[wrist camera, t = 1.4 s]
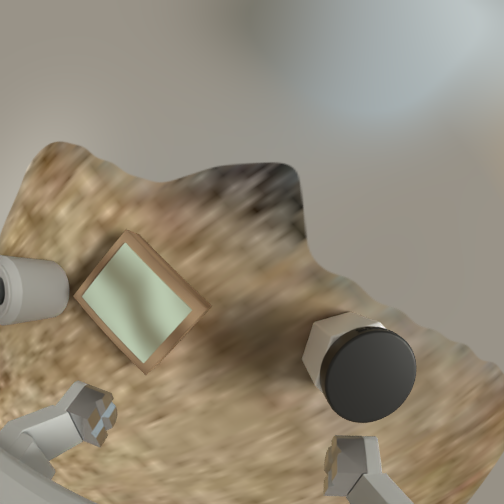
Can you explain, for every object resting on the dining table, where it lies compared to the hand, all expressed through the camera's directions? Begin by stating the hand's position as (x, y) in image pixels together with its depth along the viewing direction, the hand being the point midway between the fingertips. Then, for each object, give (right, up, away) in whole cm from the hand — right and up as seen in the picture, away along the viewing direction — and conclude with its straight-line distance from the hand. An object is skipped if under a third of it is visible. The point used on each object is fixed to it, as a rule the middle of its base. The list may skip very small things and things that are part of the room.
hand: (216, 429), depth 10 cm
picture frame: (-11, 0, +26) cm, 28 cm away
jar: (+11, -5, +25) cm, 28 cm away
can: (-25, +1, +26) cm, 36 cm away
